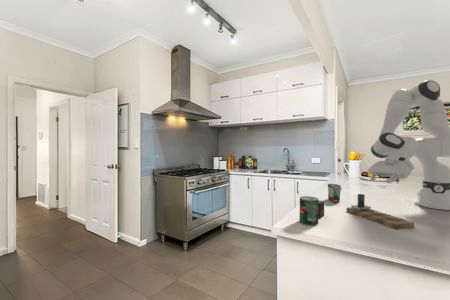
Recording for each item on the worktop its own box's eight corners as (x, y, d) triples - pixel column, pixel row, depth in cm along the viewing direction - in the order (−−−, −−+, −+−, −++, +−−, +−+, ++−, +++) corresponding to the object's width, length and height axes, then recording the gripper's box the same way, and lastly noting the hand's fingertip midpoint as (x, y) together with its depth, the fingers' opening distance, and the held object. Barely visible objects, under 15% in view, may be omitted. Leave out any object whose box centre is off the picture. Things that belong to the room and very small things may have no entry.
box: (324, 215, 108) (324, 201, 108) (320, 218, 104) (320, 203, 104) (312, 213, 113) (312, 199, 112) (307, 216, 108) (307, 201, 108)
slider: (351, 207, 115) (351, 193, 115) (362, 206, 116) (362, 193, 116) (359, 210, 110) (359, 195, 110) (370, 209, 111) (371, 195, 111)
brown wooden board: (346, 211, 116) (346, 207, 116) (362, 210, 118) (362, 206, 118) (395, 229, 90) (395, 224, 90) (414, 227, 93) (414, 222, 93)
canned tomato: (295, 221, 100) (295, 197, 100) (308, 218, 104) (308, 195, 104) (309, 227, 93) (309, 201, 93) (322, 224, 97) (322, 199, 97)
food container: (344, 204, 131) (345, 187, 131) (333, 203, 132) (334, 186, 132) (337, 199, 143) (337, 183, 143) (327, 198, 144) (327, 183, 144)
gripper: (374, 157, 128) (360, 174, 126) (411, 158, 108) (394, 179, 106) (381, 164, 129) (366, 182, 127) (418, 167, 109) (402, 188, 107)
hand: (379, 180), depth 116 cm, fingers open, 8 cm apart
